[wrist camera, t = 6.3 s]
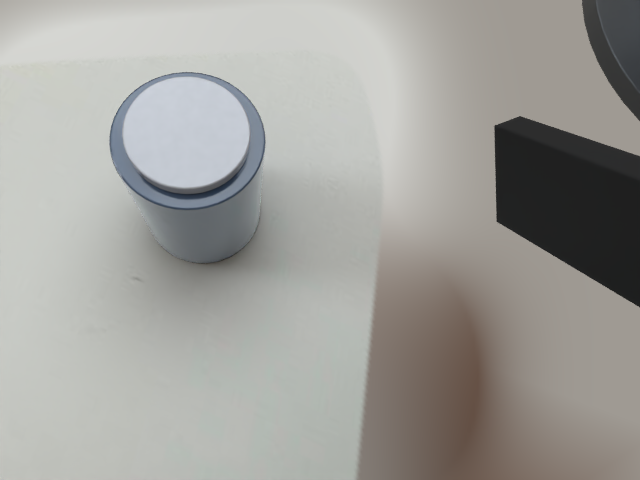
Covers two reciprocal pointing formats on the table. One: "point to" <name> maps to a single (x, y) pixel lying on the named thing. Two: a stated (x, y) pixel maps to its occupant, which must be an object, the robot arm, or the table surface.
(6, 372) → the table surface
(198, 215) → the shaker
